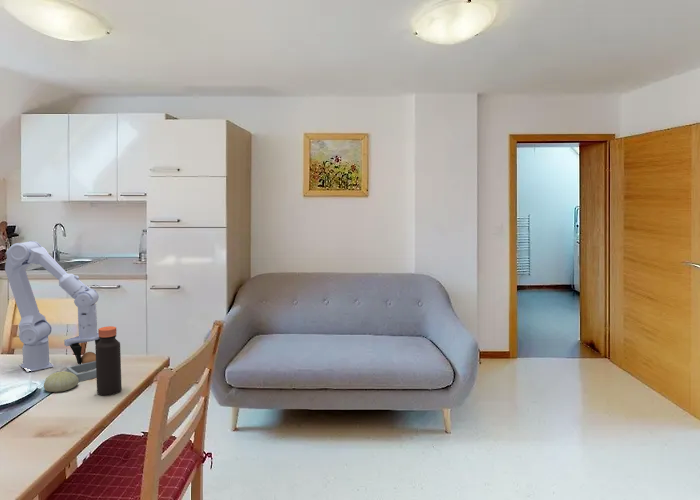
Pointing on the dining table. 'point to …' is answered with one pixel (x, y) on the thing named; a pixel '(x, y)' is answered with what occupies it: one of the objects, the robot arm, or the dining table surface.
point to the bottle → (108, 362)
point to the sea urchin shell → (60, 381)
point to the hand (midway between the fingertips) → (89, 361)
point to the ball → (88, 357)
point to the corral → (81, 368)
